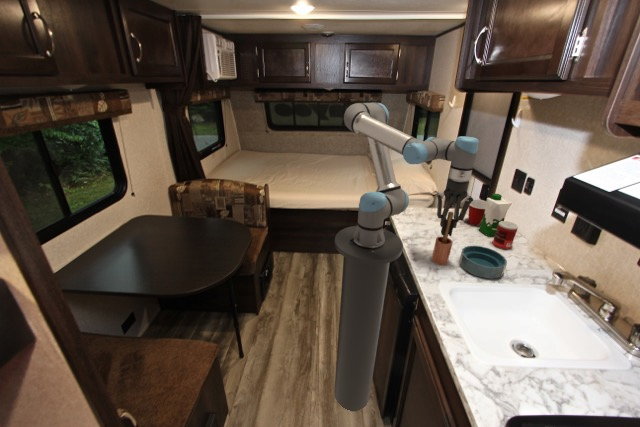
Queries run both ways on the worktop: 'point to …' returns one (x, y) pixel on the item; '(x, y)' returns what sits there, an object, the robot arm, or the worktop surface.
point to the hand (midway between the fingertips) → (445, 233)
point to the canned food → (505, 234)
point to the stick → (447, 227)
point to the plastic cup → (476, 211)
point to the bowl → (482, 261)
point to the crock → (441, 251)
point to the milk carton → (494, 214)
